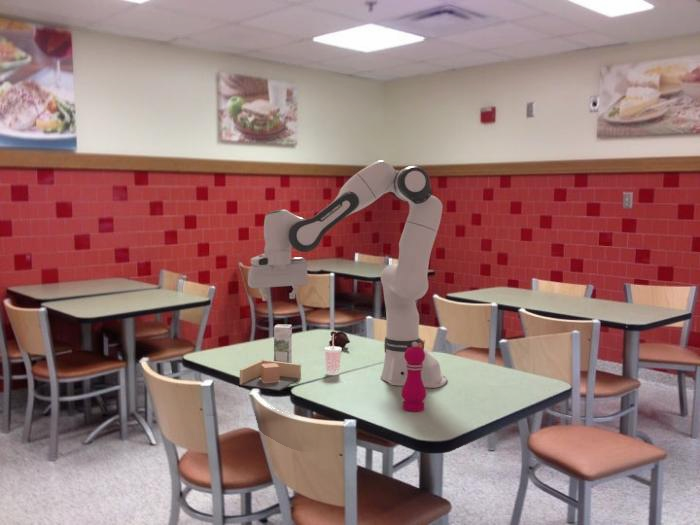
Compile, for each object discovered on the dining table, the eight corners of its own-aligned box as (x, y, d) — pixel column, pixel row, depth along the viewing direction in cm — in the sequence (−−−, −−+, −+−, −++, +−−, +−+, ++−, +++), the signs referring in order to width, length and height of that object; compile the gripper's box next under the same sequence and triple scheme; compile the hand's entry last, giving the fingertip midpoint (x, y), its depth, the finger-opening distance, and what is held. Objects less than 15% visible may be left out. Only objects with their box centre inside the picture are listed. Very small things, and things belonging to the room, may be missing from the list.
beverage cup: (343, 371, 227) (344, 333, 225) (338, 376, 221) (339, 336, 219) (327, 370, 228) (327, 331, 227) (321, 374, 222) (322, 335, 221)
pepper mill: (423, 404, 191) (425, 338, 189) (427, 412, 184) (429, 344, 182) (399, 404, 191) (401, 338, 189) (402, 412, 184) (404, 344, 182)
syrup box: (292, 362, 239) (292, 323, 238) (288, 366, 233) (289, 327, 232) (276, 361, 240) (277, 323, 238) (273, 365, 234) (273, 326, 232)
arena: (300, 378, 217) (300, 364, 217) (279, 390, 203) (279, 375, 203) (262, 373, 223) (262, 359, 222) (238, 385, 209) (238, 370, 208)
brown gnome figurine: (358, 334, 260) (339, 331, 272) (343, 331, 256) (324, 328, 268) (355, 351, 259) (336, 347, 271) (340, 348, 255) (321, 344, 268)
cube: (275, 377, 217) (275, 362, 216) (279, 381, 212) (279, 366, 212) (260, 378, 215) (260, 364, 214) (264, 382, 210) (264, 367, 210)
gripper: (304, 256, 220) (305, 296, 221) (245, 259, 212) (247, 300, 213) (310, 257, 214) (311, 298, 215) (250, 260, 206) (251, 303, 207)
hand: (278, 299), depth 214 cm, fingers open, 8 cm apart
